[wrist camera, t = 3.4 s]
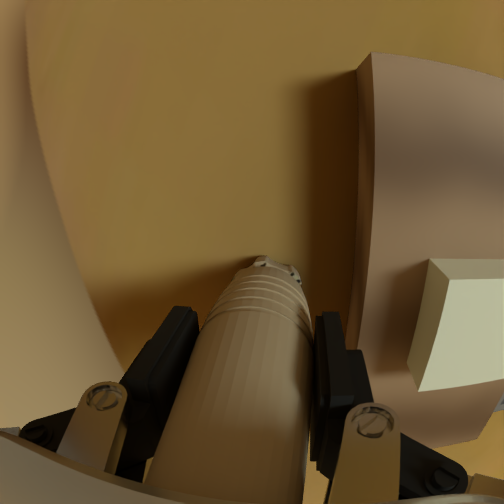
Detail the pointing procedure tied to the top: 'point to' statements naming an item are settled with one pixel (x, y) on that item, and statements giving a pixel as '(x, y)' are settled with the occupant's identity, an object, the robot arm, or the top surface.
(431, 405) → the board
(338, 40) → the top surface
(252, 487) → the handle
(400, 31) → the top surface
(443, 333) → the tile
